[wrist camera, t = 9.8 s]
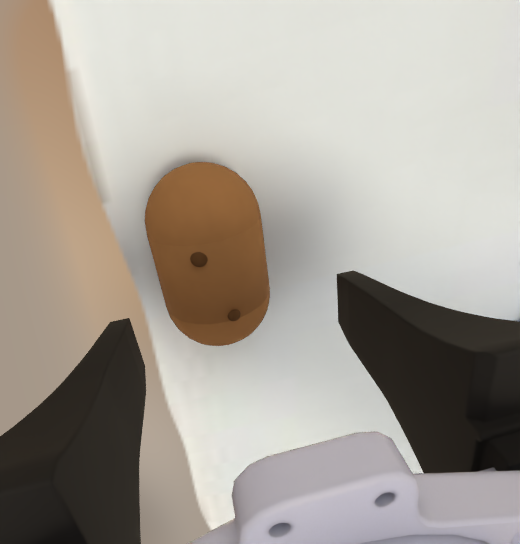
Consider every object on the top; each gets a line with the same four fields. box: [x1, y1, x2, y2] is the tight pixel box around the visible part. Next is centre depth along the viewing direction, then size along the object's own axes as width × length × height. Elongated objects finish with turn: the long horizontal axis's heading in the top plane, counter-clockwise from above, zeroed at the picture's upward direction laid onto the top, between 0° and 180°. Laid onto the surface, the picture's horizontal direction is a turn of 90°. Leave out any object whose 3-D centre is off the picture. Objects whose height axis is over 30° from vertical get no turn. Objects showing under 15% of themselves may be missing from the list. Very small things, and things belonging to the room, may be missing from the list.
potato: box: [145, 162, 270, 346], centre depth 18 cm, size 8×5×5 cm, turn 7°
